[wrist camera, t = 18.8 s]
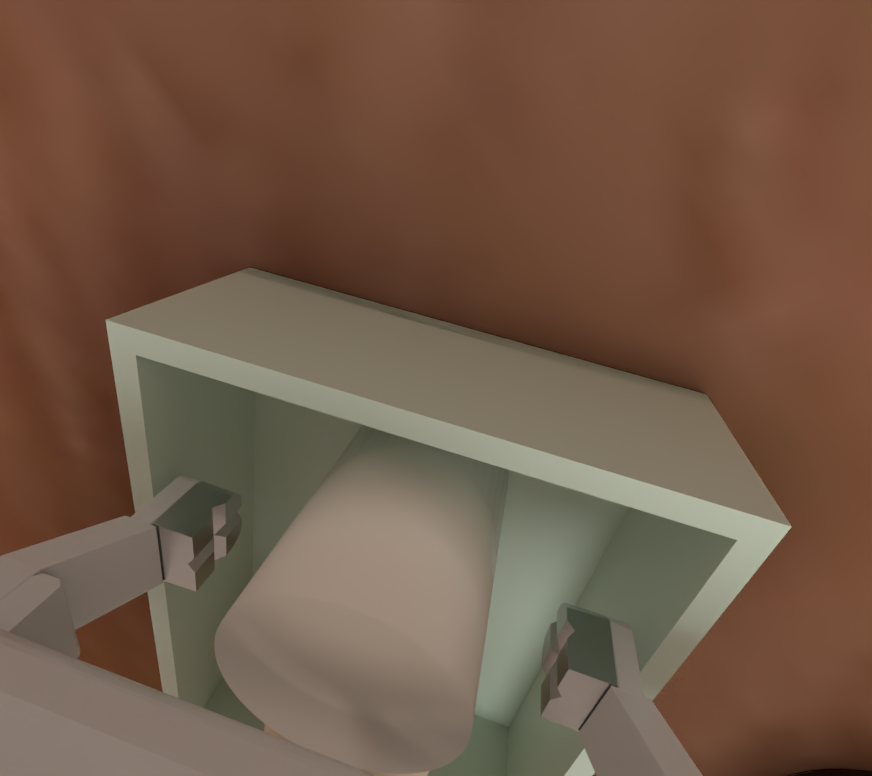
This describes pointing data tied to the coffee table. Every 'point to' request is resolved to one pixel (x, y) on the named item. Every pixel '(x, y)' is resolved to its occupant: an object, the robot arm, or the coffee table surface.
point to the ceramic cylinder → (374, 608)
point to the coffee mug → (835, 773)
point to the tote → (458, 433)
